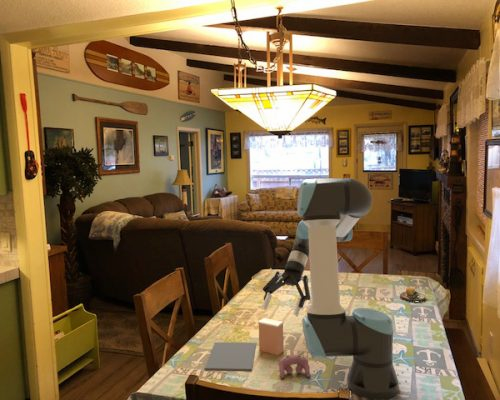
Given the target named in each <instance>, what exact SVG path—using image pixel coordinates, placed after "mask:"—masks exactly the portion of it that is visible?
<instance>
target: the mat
mask: <svg viewBox="0 0 500 400" xmlns="http://www.w3.org/2000/svg"><path fill="white" fill-rule="evenodd" d="M256 348H257V342H228V341H227V342H225V341H224V342H222V341H221V342H220V341H217V342H216V341H215V342H214V344H213V346H212V348H211V352H210V353H209V356H208V359H207V360H206V361H207V362H206V364H205V367H204V370H205V371H244V372H245V371H248V372H249V371H253V365H254V360H255V356H256V355H255V353H256Z"/></svg>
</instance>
